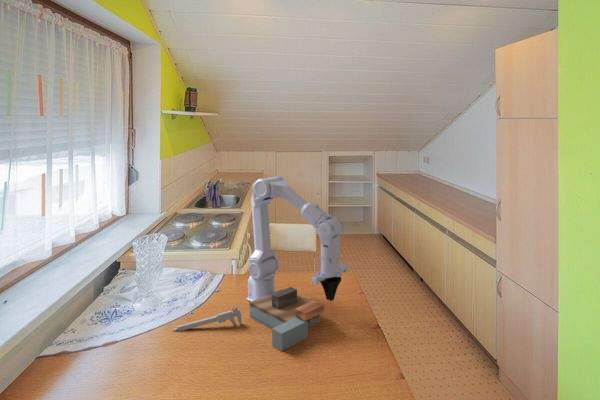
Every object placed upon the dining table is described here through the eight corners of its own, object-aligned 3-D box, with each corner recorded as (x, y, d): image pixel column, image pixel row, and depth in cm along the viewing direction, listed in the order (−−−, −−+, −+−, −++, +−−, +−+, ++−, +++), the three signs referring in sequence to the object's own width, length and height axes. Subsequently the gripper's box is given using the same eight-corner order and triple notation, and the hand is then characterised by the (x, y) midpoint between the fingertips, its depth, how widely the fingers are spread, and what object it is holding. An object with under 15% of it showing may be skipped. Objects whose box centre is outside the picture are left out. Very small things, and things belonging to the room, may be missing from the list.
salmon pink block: (295, 316, 116) (295, 308, 116) (314, 307, 122) (314, 300, 121) (305, 321, 113) (305, 313, 113) (323, 312, 119) (323, 304, 119)
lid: (249, 307, 127) (249, 290, 126) (282, 294, 137) (281, 278, 136) (297, 332, 112) (297, 312, 111) (330, 315, 121) (330, 297, 120)
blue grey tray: (234, 323, 124) (233, 308, 123) (282, 303, 137) (282, 289, 136) (281, 351, 108) (281, 333, 107) (330, 325, 122) (330, 309, 121)
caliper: (241, 324, 124) (240, 305, 123) (241, 325, 123) (240, 306, 122) (173, 330, 120) (171, 311, 119) (172, 332, 119) (171, 312, 118)
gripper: (324, 266, 113) (324, 311, 116) (355, 254, 123) (354, 296, 126) (306, 260, 118) (306, 303, 121) (337, 250, 128) (337, 289, 131)
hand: (330, 299), depth 123 cm, fingers closed
